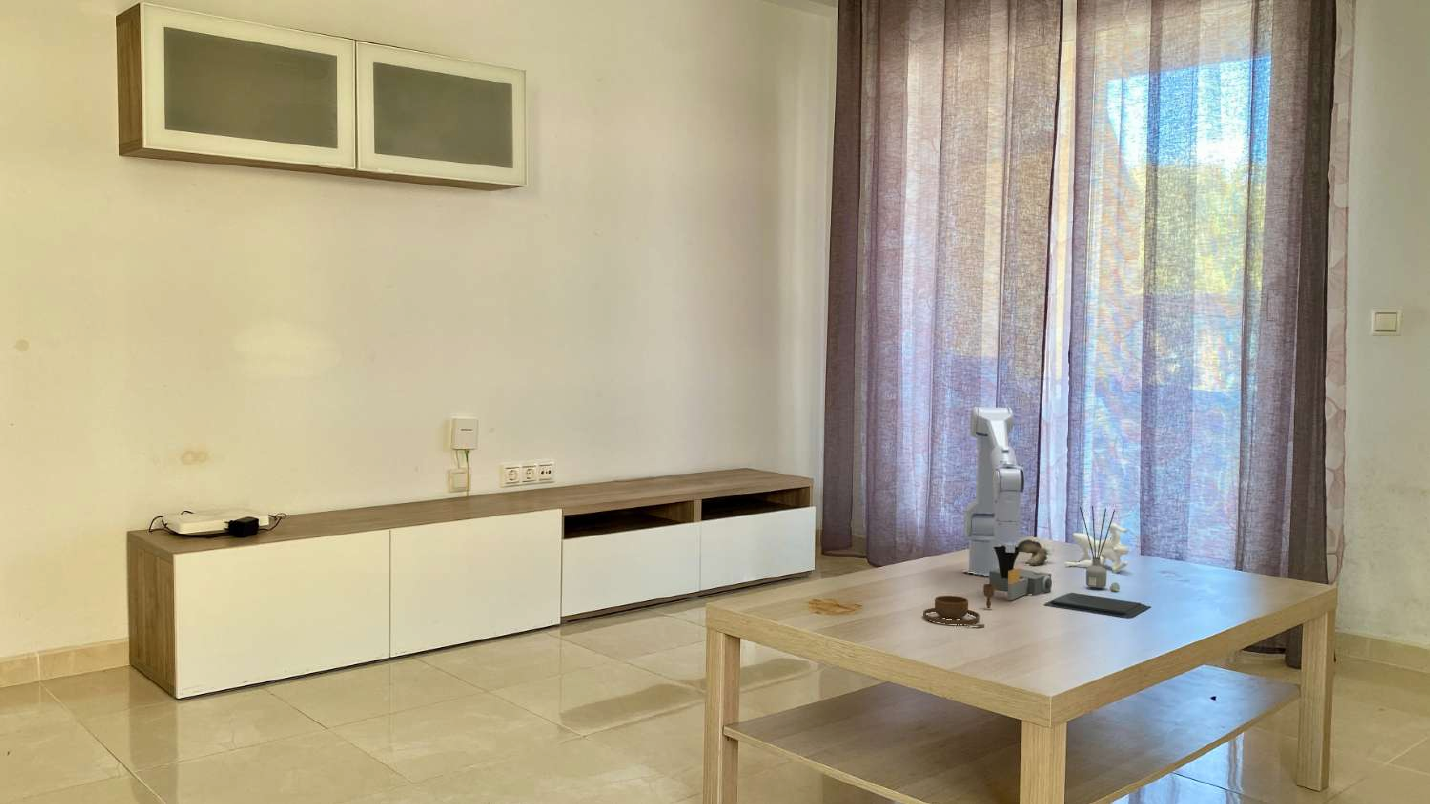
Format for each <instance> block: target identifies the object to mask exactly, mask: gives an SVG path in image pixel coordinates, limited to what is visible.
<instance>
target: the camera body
mask: <svg viewBox="0 0 1430 804" xmlns="http://www.w3.org/2000/svg"><path fill="white" fill-rule="evenodd" d="M1015 568H1016V567H1015ZM1015 568H1014V567H1013V569H1015ZM988 578H989V579H988V584H993V585H995V588H997V589H996V590H1000V589H1001V591H1006V592H1008V578H1001V574H1000V569H996V570H992V571H989V577H988ZM1022 578H1028V594H1032V595H1031V596H1034V595H1035V596H1038V595H1041V594H1040V593H1042V594H1045V593H1048V592H1050V591H1051V590H1052V589H1051V588H1052V584H1053V581H1052V573H1046V572H1042V571H1040V570H1027V569H1022V568H1020V579H1022ZM1028 594H1027V595H1028ZM1037 594H1038V595H1037Z"/></svg>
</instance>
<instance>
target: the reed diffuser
mask: <svg viewBox="0 0 1430 804" xmlns="http://www.w3.org/2000/svg"><path fill="white" fill-rule="evenodd" d="M1079 510H1080V512H1081V513H1080V514H1081V517H1082V521H1083V524H1084V528H1085V533H1086V535H1087V536H1088V540H1089V544H1090V548H1091V549H1090V551H1091V554H1092V560H1091V561H1092V565H1091V566H1090V567H1086V570H1085V585H1086V586H1088V587H1092V588H1105V587H1106V585H1107V569H1106V568H1104V567H1103V565H1101V558H1100V556H1101V553H1102V550H1103V547H1104V543H1105V540H1106V538H1108V535H1109V534H1108V533H1109V529H1110V525H1111V524H1112V521H1113V518H1114V516H1115V513H1116V509H1113V512H1112V515H1111V518H1110V521H1109V524H1108V528H1107V530H1106V534H1105V537H1104V539H1105V540H1104V543H1103V546H1102V549H1101V552H1100V555H1099V550H1100V544H1101V540H1102V536H1103V530H1104V523H1105V517H1106V511H1107V508H1104V511H1103V512H1104V513H1103V519H1102V524H1101V532H1100V536H1099V541H1100V543H1099V549H1098V555H1097V557H1096V546H1095V540H1096V535H1095V534H1096V530H1095V516H1094V515H1095V514H1094V506H1093V505H1092V506H1091V511H1092V512H1091V513H1092V515H1091V516H1092V528H1093V538H1094V549H1095V552H1094V551H1093V550H1092V547H1091V543H1090V539H1089V536H1090V535H1089V532H1088V529H1087V525H1086V521H1085V517H1084V514H1083V513H1084V512H1083V509H1082V507H1081V506H1080V507H1079ZM1094 555H1095V557H1094ZM1109 590H1110V591H1112V592H1119V591H1120V590H1121V585H1120V584H1119V583H1118V582H1113V583H1111V584H1110V586H1109Z"/></svg>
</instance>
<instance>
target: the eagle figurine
mask: <svg viewBox="0 0 1430 804" xmlns="http://www.w3.org/2000/svg"><path fill="white" fill-rule="evenodd" d="M1017 547H1019V550H1020V552H1019V553H1025V554H1031V556H1030V557H1029V558H1028V560H1027V561H1025V562H1024V563H1025V564H1029V565H1032V566H1033V565H1037V566H1039V565H1041V564H1042V563H1043V562H1044V561H1047V559H1048V557H1047V556H1052V555H1053V554H1054V551H1055V550H1054V549H1055V548H1054V547H1053V546H1052V545H1051V544H1048V543H1046V544H1045V545H1044V547H1043V548H1042V545H1041V543H1040V541H1035V540H1031V539H1024V540H1022V541H1021V542H1020V544H1018V545H1017Z"/></svg>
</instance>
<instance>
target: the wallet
mask: <svg viewBox="0 0 1430 804" xmlns="http://www.w3.org/2000/svg"><path fill="white" fill-rule="evenodd" d="M1043 606H1044V607H1050V608H1056V609H1060V610H1061V609H1064V610H1068V611H1069V610H1070V611H1076V612H1083V613H1089V614H1095V615H1101V616H1106V617H1107V616H1108V617H1113V618H1119V619H1127V620H1131V619H1134V618H1136V617H1138V616H1139V615H1141V614H1142V613H1144V612H1146V611H1148V610H1149V609H1151V608H1152V606H1151V605H1150V606H1149V605H1146V604H1143V603H1142V602H1138V601H1130V600H1123V599H1118V598H1109V597H1104V596H1103V597H1102V596H1096V595H1090V594H1084V593H1083V594H1082V593H1076V592H1069V593H1066V594H1063V595H1061V596H1059V597H1056V598H1053V599H1051V600H1050V601H1046V602H1045V603H1043Z"/></svg>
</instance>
